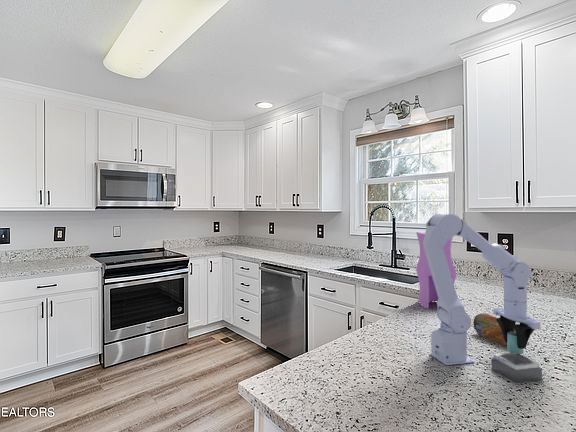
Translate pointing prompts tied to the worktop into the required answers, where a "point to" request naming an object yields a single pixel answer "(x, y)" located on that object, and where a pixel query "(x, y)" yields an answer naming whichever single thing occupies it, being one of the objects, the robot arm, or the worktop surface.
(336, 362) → the worktop surface
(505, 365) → the grey flat square block
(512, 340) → the teal capped cylinder
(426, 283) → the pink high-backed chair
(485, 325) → the tin
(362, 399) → the worktop surface
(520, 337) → the robot arm
